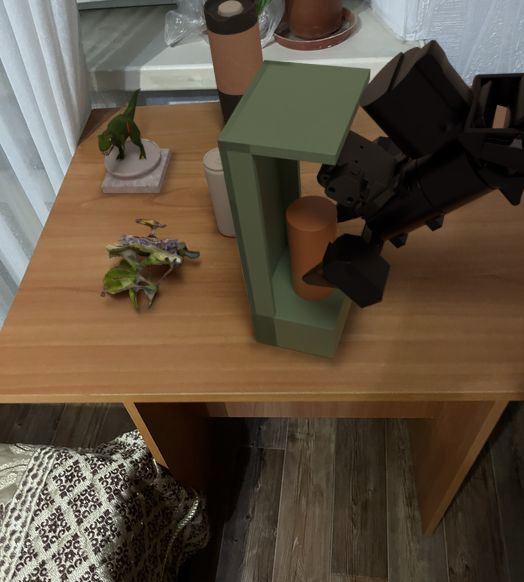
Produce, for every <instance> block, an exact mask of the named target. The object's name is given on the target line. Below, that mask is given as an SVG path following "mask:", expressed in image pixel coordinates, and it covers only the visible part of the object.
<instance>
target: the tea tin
mask: <svg viewBox="0 0 524 582" xmlns="http://www.w3.org/2000/svg"><path fill="white" fill-rule="evenodd" d="M335 205H336V204H335V203H334V202H333V200H331V199H330V198H328V197H324V196H321V195H304V196H302V197H301V198H299V199H297V200H295V201H294V202H292V203H291V204H290V205H289V207H288V209H287V211H286V221H287V233H288V244H289V255H290V267H291V278H292V287H293V290H294V292H295V293H296V294H297V295H298V296H300V297H301V298H304V299H307V300H320V299H324V298H326V297H328V296H329V295H330V294H331V293H332V292H333V291H334V290H335V288H329V287H321V286H313V285H308V284H306V283H305V282H304V281H303V280H302V276H303V275H304V274H306V273H307V272H308V271H309V270H310V269H312V268H313V267H314V266H316V265H317V264H319V263H320V262H321V261H322V259H323V256H324V254H325V251H326V248H327V246H328V243H329V241H330V242H331V243H333V242H334V241H335V240H336V238H338V223H337V208H336V206H335Z"/></svg>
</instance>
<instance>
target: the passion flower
mask: <svg viewBox="0 0 524 582" xmlns="http://www.w3.org/2000/svg"><path fill="white" fill-rule="evenodd" d="M135 223H136V224H138V225H143V226H147V227H149V228H150V233H149V235H147V236H138V235H137V236H136V235H131V234H129V235H126V234H121V238H119V239H118V240H117V242H120V244H118V243H116V242H115V243H113V244H111V243H107V245H105V250H106V251H107V252H108V258H109V259H113V258H117V257H118V258H120V257H122V259H120V260H119V263H118V265H116V264H114V265H113V266H111V267H110V268H109V270H108V271H107V272H106V273H104V276H103V279H102V285H103V286H102V289H101V291H100V293H99V295H100V297H102V298H105V297H106V292H107V293H109V294H111V295H116V294H119V293H121V292H123V291H127V290H129V297H130V301H131V304H132V306H133V307H134V308H135V309H136V310H140V308H139V303H138V299H137V298H138V297H137V295H138V292H139V291H140V290H143V292H144V295H145V296H146V297H147V298H148V305H147V309H150V308H151V306H152V302H153V299H154V296H155V295H156V293H157V291H159V289H160V284H162V282H163V281H164V280H165V278H167V276H168V275H169V274H170V273H171V272H172V271H173V270H174V268H177V267H178V266H181V265H183V263H184V258H183V257H187V258H189V259H191V260H197V259H198V258H200V256H201V253H200V250H190V249H189V248H188V247H187V245H186V243H185V241H179V239H178V238H176V239H169V238H163V239H159V238H158V237H157V236H156V230H157V229H158V228H160V229H164V228H166V227H167V226H168V224H167V223H161V222H159V221H157V220H155V219H154V218H153V219H151V218H150V219H147V218H137V219H135ZM178 241H179V242H178ZM121 244H122V245H121ZM138 257H141V258H145V259H143V260H141V262H139V261H138ZM162 265H165V266H167V267H169V266H170V267H169V269H168V270H167V271H166V272H165V273H164V274H163V276H162V277H161V278H160V279H159V280H158V281H157V282H153V281H152V276H151V269H150V266H162ZM146 268H147V269H148V270H147V271H148V278H145V277H144V276H143V275H142V273H141V272H142V271H143V270H144V269H146ZM140 282H144V283H146V284H148V285H139V284H138V283H140Z"/></svg>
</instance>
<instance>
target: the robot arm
mask: <svg viewBox="0 0 524 582" xmlns="http://www.w3.org/2000/svg"><path fill="white" fill-rule="evenodd" d="M498 106H499V107H503V108H506V111H505V116H504V120H503V126H502V127H494V122H495V118H496V112H497V108H498ZM359 107H360V108H361V109H362V110H363V111H364V112H365V113H366V114H367V115H368V116H369V118H371V119H372V121H373V122H374V123H375V124H376V125H377V126H378V127H379V129H380V130H381V131H382V132H383V133H384V134H385V135H386V136H382V135H379V136H378V137H375V139H373V140H370V139H368V138H366V137H364V136H363V135H360V134H359V133H357V132H355V131H353V130H351V129H350V130H349V133H348V135H347V138H346V140H345V143H344V145H343V147H342V150H341V152H340V155H339V157H338V160H337V162H336V165H329V164H321V165H320V167H319V170H318V172H317V174H316V181H317V183H318V185H319V186H320V187H322V188H323V189H324V191H323V193H324V195H325V196H326V198H328V199H329V200H331V201H334V202H336V203H335V204H334V205H335V206H336V208H337V224H341V223H345V222H349V221H352V220H355V219H359V218H360V219H361V220H363V221H364V224H363V227H362V230H361V234H360V235H358V234H351V233H343V234H341V235H339V236H337V238H336V240H335V241H334V242H333V243H331V242H330V241H329V243H328V246H327V248H326V251H325V254H324V256H323V259H322V261H321V262H320V263H319V264H317V265H316V266H314V267H313V268H312V269H310V270H309V271H308V272H307V273H306V274H304V275H303V276H302V280H303V281H304V282H305V283H306V284H308V285H313V286H321V287H329V288H336V289H340V290H341V291H342V292H343V293H344V294H345V295H347V296H348V297H349V298H350V299H351V300H352V303H354V304H355V305H357V306H358V307H359V308H360V309H366V308H369V307H372V306H374V305H377V304H380V303H382V302H383V299H384V295H385V292H386V288H387V285H388V280H389V278H390V273H391V264H390V263H389V262H388V261H387V260H386V259H385V258H384V257H383V256H382V254H383V249H384V247H385V243H386V242H387V241H388V242H389V243H391V244H392V245H393V247H395V248H396V249H400V248H402V247H404V246H405V245H406V244H407V241H408V237H409V234H410V233H412V232H414V231H416V230H418V229H420V228H422V227H424V226H427V227H428V228H429V230H430V231H431V232H435V231H437V230H439V229H442V228H443V226H444V225H443V224H444V221H445V216H446V215H448V214H450V213H453V212H454V211H456V210H458V209H461V208H462V207H464V206H466V205H468V204H470V203H472V202H475V201H476V200H478V199H481V198H482V197H485V196H486V195H488V194H490V193H492V192H495V191H496V190H498V191H499V192H500V193H501V194H502V196H503V197H504V198H505V199H506V200H507V201H508V203H509V204H510V205H511V206H513V207H517V206H520V204H521V202H522V197H523V194H524V72H506V73H504V72H503V73H479V74H476V75H474V77H473V78H472V83H471V87H469V85H468V84H467V83H466V82H465V81H464V79H463V78H462V76H461V75H460V73H458V71H457V70H456V69H455V67H454V66H453V65H452V64H451V62H450V61H449V59H448V56H447V54H446V52H445V51H444V49H443V47H442V46H441V45H440V43H439V42H438V41H437V40H436V39H431V40H430V41H429V42H427V43H426V44H424V45H423V46H422V47H420V46H414V47H411V48H409V49H407V50H406V51H404V52H403V51H400V52H399V53H397V54H396V55H395V56H393V58H392V59H390V60H389V61H388V62H387V63H386V64H385V65H384V66H383V67H382V68H381V69H380V70H379V71H378V72H377V73H376V74H375V75H374V76H373V78H372V79H371V80H370V81H369V83H368V86H367V87H366V89H365V90H364V92H363V94H362V95H361V98H360V101H359Z"/></svg>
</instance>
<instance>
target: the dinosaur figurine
mask: <svg viewBox="0 0 524 582" xmlns="http://www.w3.org/2000/svg"><path fill="white" fill-rule="evenodd" d="M141 89H142V88H141V87H140V88H138V89H136V90H135V91H134V93H133V94H132V96H131V98H130V100H129V103H128V105H127V108H126V109H125V110H124V111H123V113H119V114H117V115H116V116H114V117H113V118H112V119H110V121H109V122H108V123H107V127H106V129H105V130H104V131H103V132H102V133H101V134H99V135H97V136H96V137H97V141H98V142H97V144H98V150H99V152H100V154H102V156H104V161H103V162H104V167H105V169H106V170H107V171H106V173H105V176H104V178H103V181H102V183H101V186H100V187H101V189H102V192H103V194H160V193H161V192H162V187H163V185H164V181H165V179H166V174H167V171H168V168H169V164H170V161H171V158H172V152H171V148H170V147H169V148H166V147H165V148H164V147H163V148H162V147H161V148H160V146H159V145H158V143H156V142H154V141H153V140H150V139H147V138H141V130H140V129H139V127H138V125H137V123H136V122H135V121H134V120H135V115H136V107H137V102H138V96H139V92H140V91H141ZM128 138H129V139H128Z"/></svg>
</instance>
